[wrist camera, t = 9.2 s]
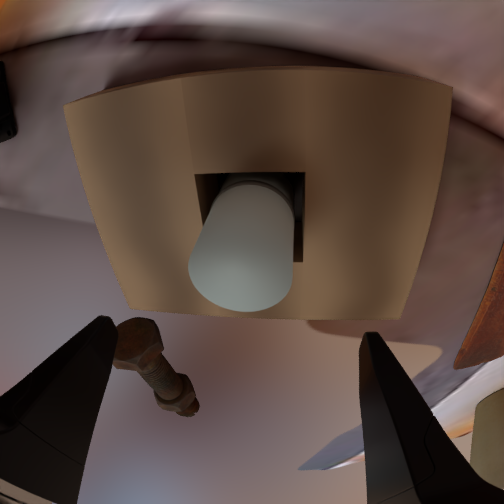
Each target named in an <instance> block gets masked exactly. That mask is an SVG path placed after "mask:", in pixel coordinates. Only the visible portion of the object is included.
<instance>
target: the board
mask: <svg viewBox="0 0 504 504" xmlns="http://www.w3.org/2000/svg"><path fill="white" fill-rule="evenodd" d="M452 90H453V87H450V86H447V85H444V84H441V83H438V82H435V81H432V80H429V79H425V78H422V77H418V76H412V75H406V74H400V73H393V72H385V71H377V70H368V69H357V68H345V67H327V66H259V67H242V68H229V69H218V70H209V71H200V72H193V73H185V74H179V75H172V76H166V77H161V78H155V79H150V80H145V81H140V82H135V83H131V84H126V85H122V86H118V87H114V88H110V89H106V90H102V91H99V92H97V93H94V94H91V95H88V96H86V97H83V98H80V99H78V100H75V101H73V102H70V103H68V104H65V105H63V108H64V113H65V117H66V122H67V126H68V131H69V135H70V139H71V143H72V147H73V151H74V154H75V158H76V162H77V165H78V169H79V173H80V176H81V179H82V183H83V186H84V189H85V192H86V196H87V199H88V202H89V205H90V208H91V211H92V214H93V217H94V220H95V223H96V226H97V228H98V231H99V234H100V237H101V239H102V242H103V245H104V247H105V250H106V252H107V255H108V258H109V260H110V263H111V265H112V268H113V270H114V273H115V275H116V277H117V280H118V282H119V285H120V287H121V289H122V291H123V294H124V296H125V298H126V301H127V303H128V305H129V307H130V309H137V310H148V311H157V312H158V311H159V312H169V313H181V314H194V315H208V316H224V317H242V318H267V319H268V318H269V319H299V320H381V319H400V317H401V314H402V311H403V309H404V306H405V303H406V301H407V298H408V295H409V292H410V289H411V286H412V283H413V280H414V277H415V274H416V271H417V268H418V265H419V262H420V258H421V255H422V252H423V248H424V245H425V241H426V238H427V234H428V230H429V227H430V223H431V219H432V215H433V211H434V206H435V202H436V198H437V193H438V188H439V184H440V179H441V173H442V168H443V162H444V157H445V150H446V144H447V137H448V130H449V121H450V113H451V102H452ZM235 172H303V201H302V222H295V227H294V239H293V277H292V284H291V288H290V290H289V292H288V293H287V295H286V296H285V297H284V298H283V299H282V300H281V301H280V302H278V303H277V304H275V305H274V306H272V307H269V308H267V309H264V310H260V311H253V312H241V311H234V310H229V309H226V308H223V307H220V306H218V305H216V304H214V303H212V302H211V301H209V300H208V299H206V298H205V297H204V296H203V295H202V294H201V293H200V292H199V291H198V290H197V289H196V288H195V286H194V285H193V283H192V281H191V278H190V275H189V271H188V263H189V258H190V255H191V253H192V250H193V248H194V246H195V244H196V241H197V239H198V237H199V235H200V232H201V230H202V228H203V226H204V224H205V222H206V219H207V217H208V215H209V213H210V209H211V206H212V204H213V202H214V200H215V198H216V196H217V195H218V194H219V186H218V178H217V173H235Z"/></svg>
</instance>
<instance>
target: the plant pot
mask: <svg viewBox="0 0 504 504" xmlns="http://www.w3.org/2000/svg"><path fill="white" fill-rule="evenodd" d="M470 465H471V466H472V468H473V469H474V470H475V471H476V473H477V474H478V475H479V476H480V477H481V478H483V479H484V480H485V481H487V482H488V483H490V484H492V485H494V486H496V487H499V488H501V489H504V389H502V390H499V391H497V392H495V393H493V394H492V395H490V396H488V397H487V398H485V399H484V400H483V401H481V402H480V403H479V404H478V405H477V407H476V410H475V418H474V426H473V435H472V445H471V457H470Z"/></svg>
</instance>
